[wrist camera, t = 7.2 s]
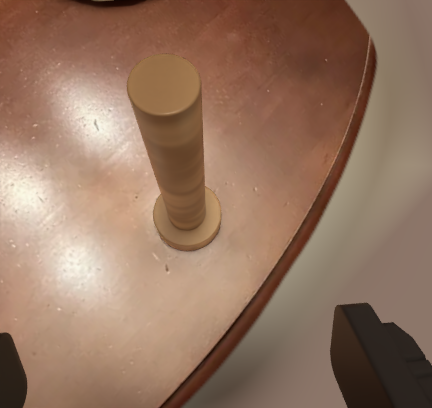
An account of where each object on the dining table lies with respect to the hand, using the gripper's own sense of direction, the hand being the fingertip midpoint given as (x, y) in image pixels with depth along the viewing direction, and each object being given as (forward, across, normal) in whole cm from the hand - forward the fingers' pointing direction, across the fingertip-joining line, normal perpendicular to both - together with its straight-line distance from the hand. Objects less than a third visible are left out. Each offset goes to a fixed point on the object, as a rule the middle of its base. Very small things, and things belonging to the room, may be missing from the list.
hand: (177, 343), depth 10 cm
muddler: (+16, 0, +5) cm, 17 cm away
